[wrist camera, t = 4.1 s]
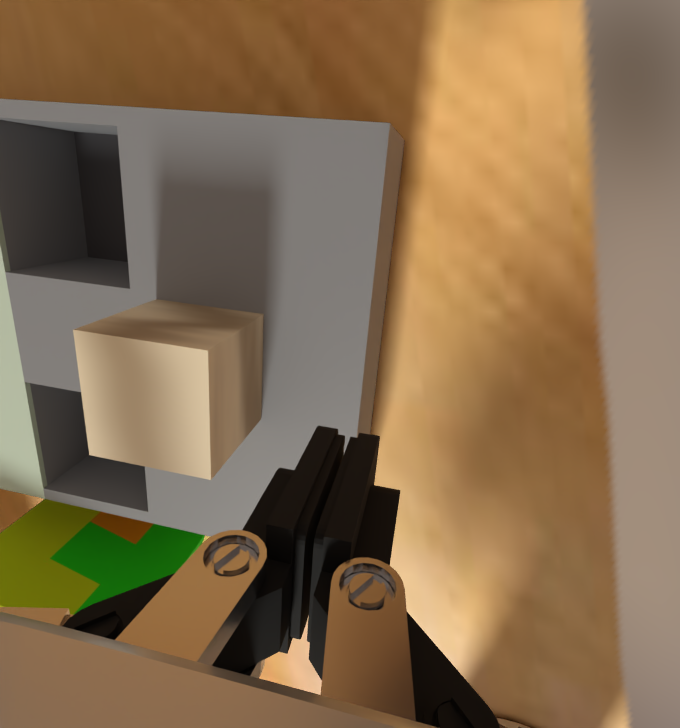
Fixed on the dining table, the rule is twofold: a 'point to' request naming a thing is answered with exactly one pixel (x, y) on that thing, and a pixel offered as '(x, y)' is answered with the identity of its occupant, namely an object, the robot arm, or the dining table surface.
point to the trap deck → (188, 282)
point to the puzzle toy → (84, 556)
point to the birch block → (171, 385)
